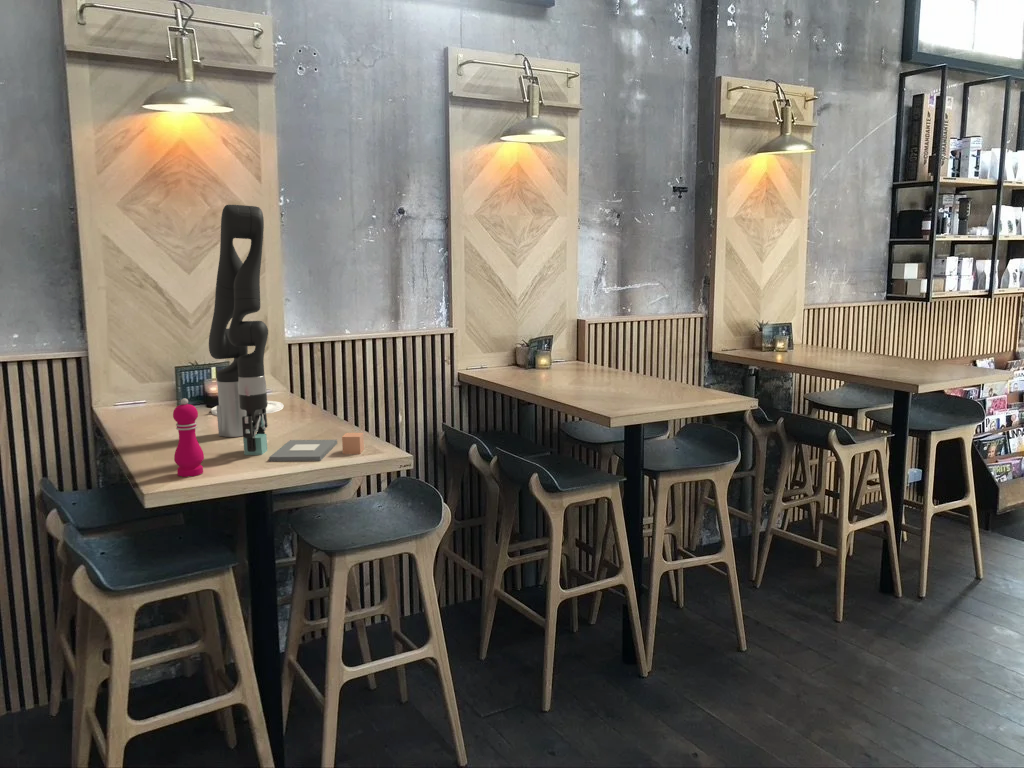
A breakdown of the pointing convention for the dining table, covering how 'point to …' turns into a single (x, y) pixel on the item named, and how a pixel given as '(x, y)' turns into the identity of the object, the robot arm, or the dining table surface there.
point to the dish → (271, 407)
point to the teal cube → (257, 445)
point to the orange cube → (353, 443)
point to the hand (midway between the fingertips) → (256, 447)
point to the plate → (303, 450)
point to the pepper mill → (187, 441)
